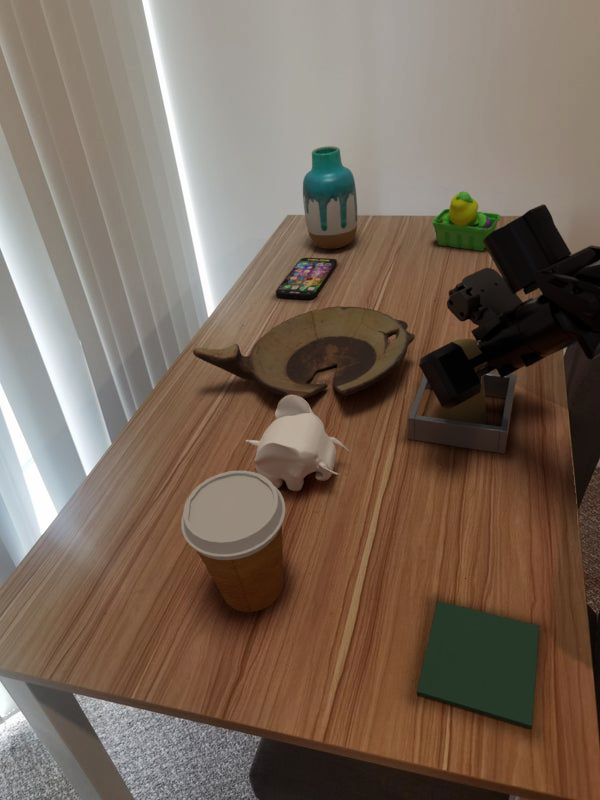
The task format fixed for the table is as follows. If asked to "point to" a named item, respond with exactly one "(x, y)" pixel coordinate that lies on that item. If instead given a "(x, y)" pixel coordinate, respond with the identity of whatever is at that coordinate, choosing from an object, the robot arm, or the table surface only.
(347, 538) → the table surface
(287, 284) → the smartphone
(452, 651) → the coaster
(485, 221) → the fruit basket
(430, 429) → the holder
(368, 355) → the brown shallow dish
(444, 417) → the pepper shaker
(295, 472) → the elephant figurine
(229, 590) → the disposable coffee cup
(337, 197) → the vase
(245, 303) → the table surface
